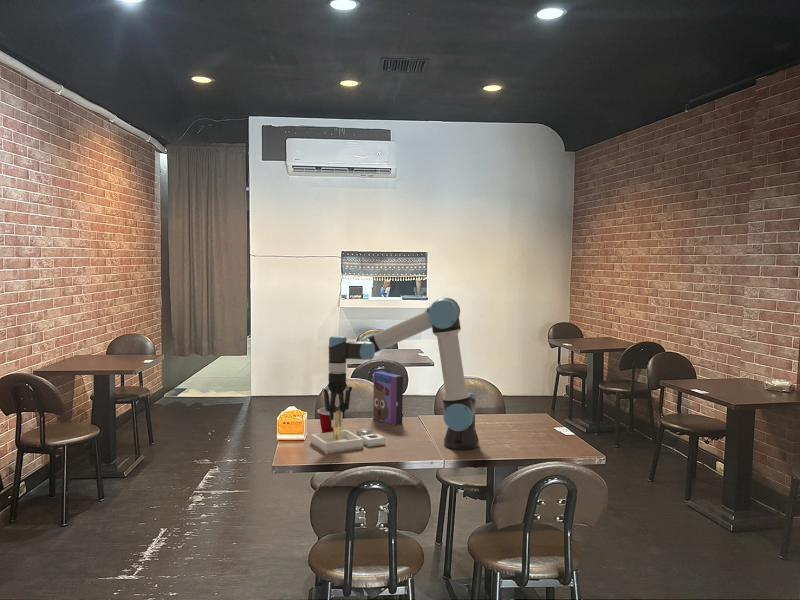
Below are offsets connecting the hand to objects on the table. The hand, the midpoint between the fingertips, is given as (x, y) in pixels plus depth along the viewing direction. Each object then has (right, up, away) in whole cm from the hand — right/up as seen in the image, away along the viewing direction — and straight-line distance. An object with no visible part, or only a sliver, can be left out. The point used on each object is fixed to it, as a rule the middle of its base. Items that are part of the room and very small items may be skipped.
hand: (336, 426), depth 263 cm
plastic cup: (-5, -8, +16) cm, 19 cm away
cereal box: (+21, -7, +45) cm, 50 cm away
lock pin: (0, -5, 0) cm, 5 cm away
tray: (0, -8, 0) cm, 8 cm away
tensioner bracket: (+13, -8, +8) cm, 18 cm away
